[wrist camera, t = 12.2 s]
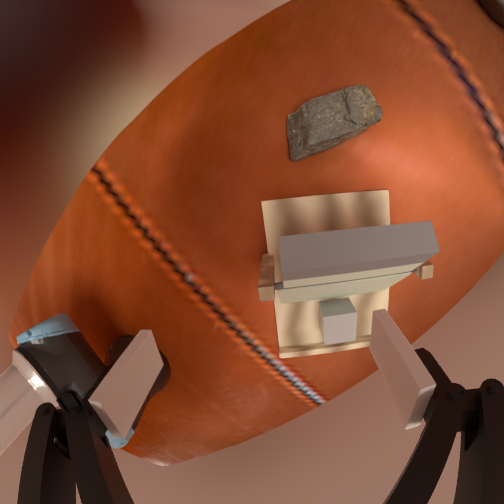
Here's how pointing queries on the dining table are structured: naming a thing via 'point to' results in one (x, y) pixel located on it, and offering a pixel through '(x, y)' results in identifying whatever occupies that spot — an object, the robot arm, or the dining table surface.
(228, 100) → the dining table surface
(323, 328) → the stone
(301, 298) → the flap
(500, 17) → the pitcher
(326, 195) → the stand
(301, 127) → the rock
